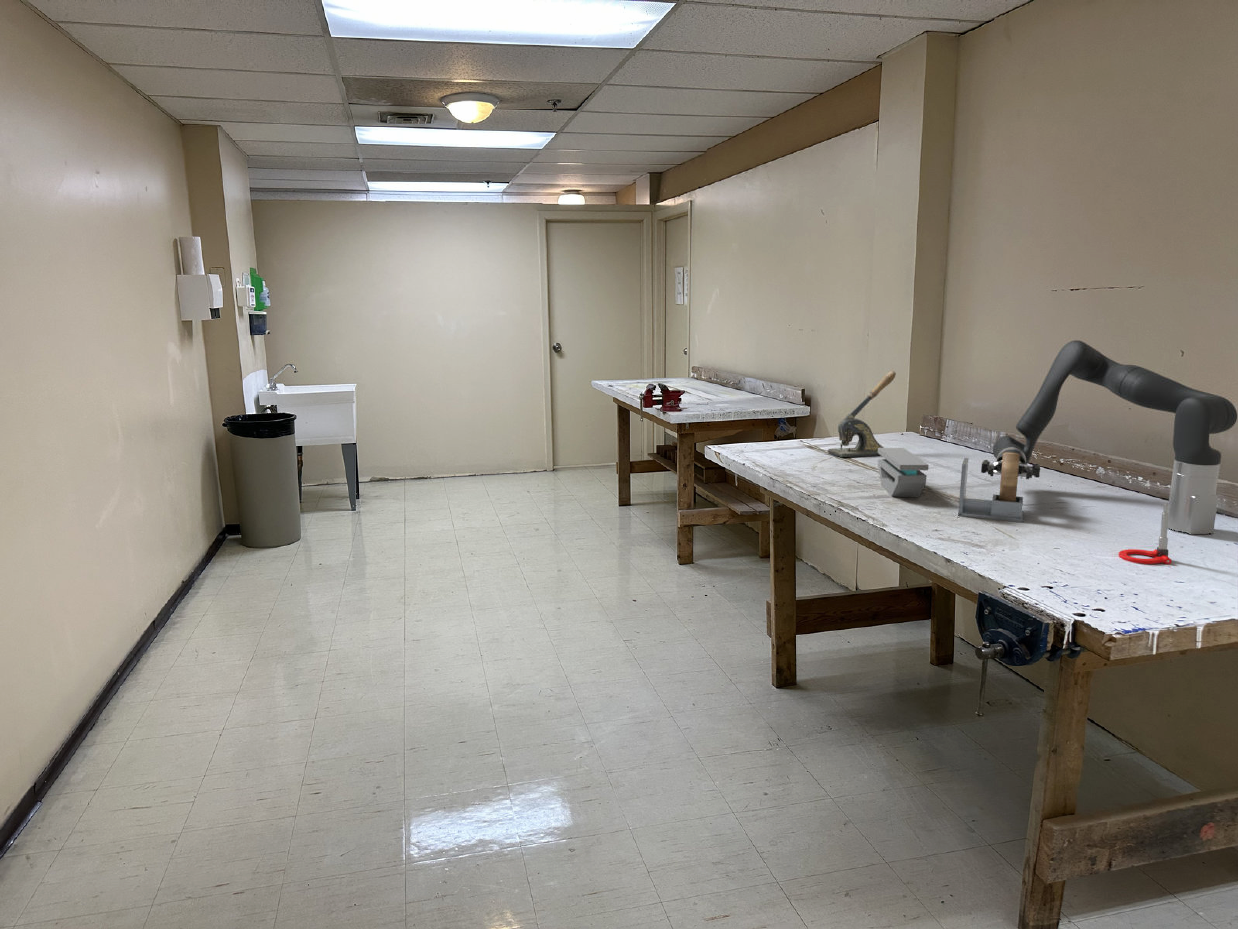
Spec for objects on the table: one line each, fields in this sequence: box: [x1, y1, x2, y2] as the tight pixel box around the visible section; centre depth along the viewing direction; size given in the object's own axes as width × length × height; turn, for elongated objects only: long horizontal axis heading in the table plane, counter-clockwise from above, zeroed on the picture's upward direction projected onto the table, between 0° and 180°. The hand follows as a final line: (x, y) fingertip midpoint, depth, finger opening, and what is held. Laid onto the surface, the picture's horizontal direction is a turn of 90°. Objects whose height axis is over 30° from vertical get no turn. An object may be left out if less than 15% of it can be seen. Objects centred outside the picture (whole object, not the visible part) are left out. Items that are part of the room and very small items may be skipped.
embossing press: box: [826, 370, 897, 458], centre depth 298 cm, size 11×24×30 cm, turn 103°
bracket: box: [957, 457, 1024, 523], centre depth 218 cm, size 9×16×14 cm, turn 64°
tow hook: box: [1118, 502, 1172, 565], centre depth 183 cm, size 8×13×9 cm
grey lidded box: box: [877, 447, 929, 497], centre depth 244 cm, size 25×8×11 cm, turn 177°
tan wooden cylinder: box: [998, 453, 1020, 502], centre depth 217 cm, size 4×4×16 cm
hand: (1009, 474), depth 217 cm, fingers open, 8 cm apart
